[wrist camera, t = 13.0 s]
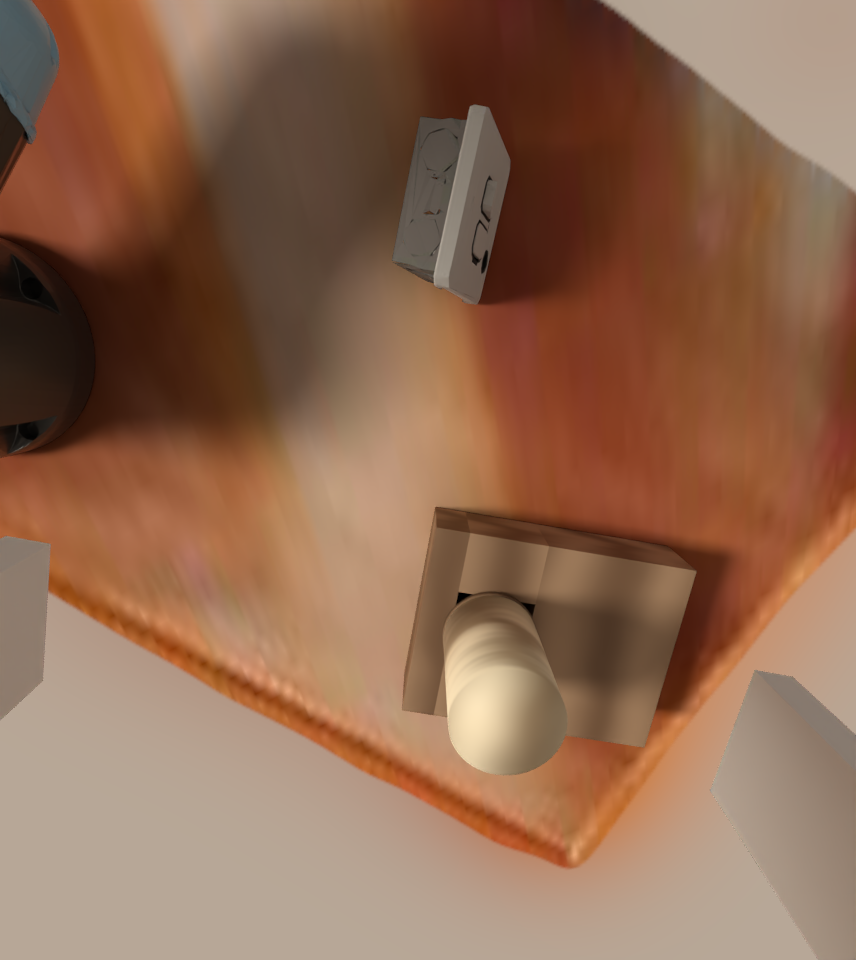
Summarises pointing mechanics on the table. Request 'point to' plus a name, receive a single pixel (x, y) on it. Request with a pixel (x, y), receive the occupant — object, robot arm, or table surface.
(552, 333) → the table surface
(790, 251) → the table surface
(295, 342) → the table surface
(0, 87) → the robot arm
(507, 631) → the leg peg
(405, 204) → the electrical switch
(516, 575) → the board
